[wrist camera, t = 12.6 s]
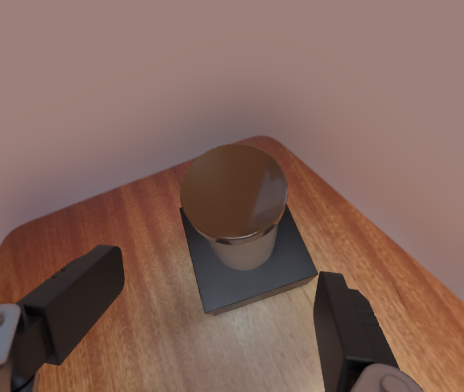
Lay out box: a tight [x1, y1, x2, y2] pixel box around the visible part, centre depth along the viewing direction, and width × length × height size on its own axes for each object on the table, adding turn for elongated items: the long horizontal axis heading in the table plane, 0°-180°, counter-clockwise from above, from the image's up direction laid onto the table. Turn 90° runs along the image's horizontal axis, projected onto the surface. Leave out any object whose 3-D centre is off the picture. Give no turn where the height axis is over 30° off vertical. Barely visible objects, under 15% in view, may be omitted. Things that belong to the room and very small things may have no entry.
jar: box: [180, 144, 288, 271], centre depth 18 cm, size 6×6×9 cm
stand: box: [179, 204, 318, 315], centre depth 24 cm, size 9×9×5 cm
